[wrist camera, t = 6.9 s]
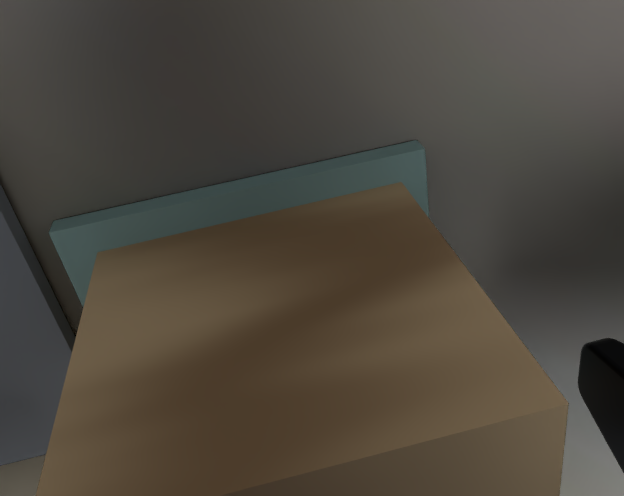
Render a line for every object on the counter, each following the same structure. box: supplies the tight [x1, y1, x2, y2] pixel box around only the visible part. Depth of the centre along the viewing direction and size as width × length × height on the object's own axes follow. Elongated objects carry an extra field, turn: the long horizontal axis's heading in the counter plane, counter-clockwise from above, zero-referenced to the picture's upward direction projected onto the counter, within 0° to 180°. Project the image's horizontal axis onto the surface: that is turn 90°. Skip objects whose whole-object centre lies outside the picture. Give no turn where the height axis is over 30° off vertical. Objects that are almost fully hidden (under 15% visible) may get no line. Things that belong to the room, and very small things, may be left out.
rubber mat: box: [49, 140, 429, 307], centre depth 11 cm, size 6×6×1 cm
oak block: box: [36, 182, 569, 496], centre depth 9 cm, size 5×5×5 cm
